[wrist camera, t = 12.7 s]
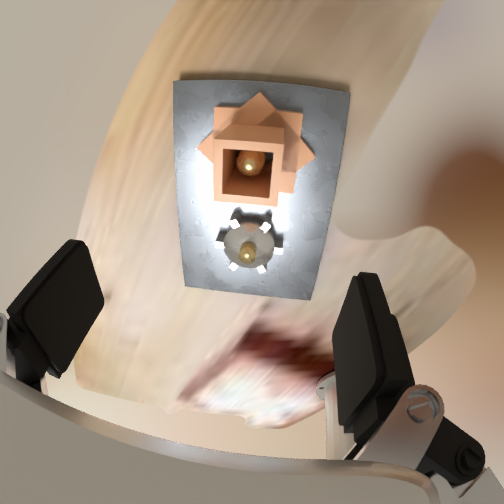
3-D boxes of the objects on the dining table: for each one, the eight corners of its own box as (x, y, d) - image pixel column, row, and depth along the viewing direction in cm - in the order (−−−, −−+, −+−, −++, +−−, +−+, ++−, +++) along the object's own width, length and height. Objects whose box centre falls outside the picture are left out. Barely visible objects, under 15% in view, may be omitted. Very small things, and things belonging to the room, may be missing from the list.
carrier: (346, 91, 21) (368, 98, 16) (309, 291, 35) (312, 336, 29) (179, 80, 22) (146, 84, 17) (188, 278, 35) (171, 319, 30)
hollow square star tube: (321, 98, 21) (336, 106, 15) (306, 205, 27) (312, 247, 21) (200, 89, 21) (170, 96, 16) (200, 195, 27) (176, 232, 22)
